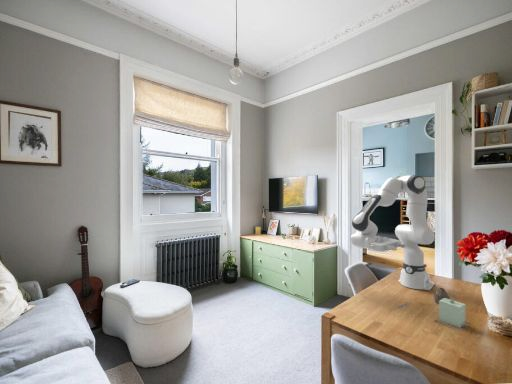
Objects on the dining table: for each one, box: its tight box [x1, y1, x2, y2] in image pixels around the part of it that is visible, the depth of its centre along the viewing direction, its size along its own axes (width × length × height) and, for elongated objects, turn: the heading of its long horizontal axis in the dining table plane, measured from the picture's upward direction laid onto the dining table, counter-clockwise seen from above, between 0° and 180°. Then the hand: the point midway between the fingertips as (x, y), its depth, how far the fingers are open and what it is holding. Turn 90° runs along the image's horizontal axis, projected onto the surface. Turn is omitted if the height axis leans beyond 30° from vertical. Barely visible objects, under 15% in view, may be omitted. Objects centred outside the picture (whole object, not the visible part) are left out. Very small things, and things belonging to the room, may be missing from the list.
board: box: [434, 317, 471, 332], centre depth 115 cm, size 12×10×1 cm
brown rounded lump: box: [433, 287, 451, 305], centre depth 134 cm, size 7×7×9 cm
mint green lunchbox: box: [438, 298, 466, 328], centre depth 115 cm, size 6×8×10 cm
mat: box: [396, 302, 410, 309], centre depth 129 cm, size 11×10×1 cm
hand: (400, 247), depth 138 cm, fingers open, 8 cm apart
